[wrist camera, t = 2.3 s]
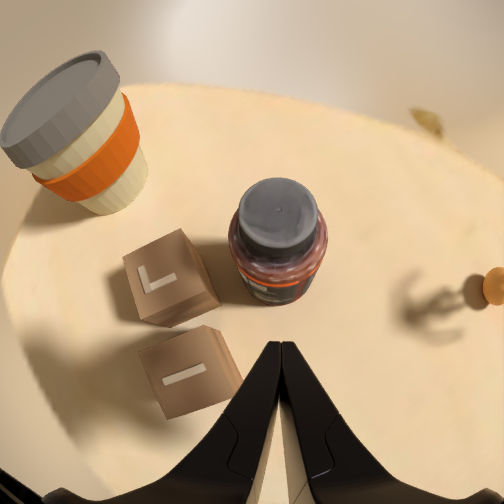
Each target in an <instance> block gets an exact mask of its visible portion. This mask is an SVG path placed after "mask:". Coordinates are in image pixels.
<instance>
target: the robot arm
mask: <svg viewBox="0 0 504 504" xmlns="http://www.w3.org/2000/svg"><path fill="white" fill-rule="evenodd" d="M278 402H279V407H280V417H281V426H282V435H283V445H284V455H285V464H286V474H287V484H288V495H289V504H504V498H502V496H500V495H499V494H498V493H497V492H494V491H492V490H490V489H488V488H485V489H482V490H481V491H479V492H477V493H475V494H473V495H471V496H470V497H467V498H465V499H459V500H454V499H448V498H444V497H441V496H438V495H435V494H432V493H429V492H427V491H424V490H421V489H419V488H416V487H413V486H411V485H408V484H406V483H404V482H401V481H400V480H398V479H396V478H395V477H393V476H392V475H391V474H390V473H389V472H388V471H387V470H386V469H385V468H384V467H383V466H382V465H381V464H380V463H379V462H378V461H377V459H376V458H375V457H374V456H373V455H372V454H371V453H370V452H369V451H368V450H367V448H366V447H365V446H364V445H363V444H362V443H361V442H360V440H359V439H358V438H357V437H356V436H355V434H354V433H353V432H352V430H351V429H350V427H349V426H348V425H347V423H346V422H345V420H344V419H343V417H342V416H341V414H339V411H338V410H337V408H336V407H335V405H334V404H333V402H332V400H331V399H330V397H329V396H328V394H327V393H326V391H325V390H324V388H323V387H322V385H321V383H320V382H319V380H318V379H317V377H316V376H315V374H314V373H313V371H312V369H311V368H310V366H309V365H308V363H307V362H306V360H305V358H304V357H303V355H302V354H301V352H300V351H299V349H298V347H297V346H296V344H295V343H294V342H292V341H283V342H282V343H281V342H279V341H269V342H268V343H267V345H266V346H265V348H264V349H263V351H262V353H261V354H260V356H259V358H258V359H257V361H256V362H255V364H254V366H253V367H252V369H251V370H250V372H249V373H248V375H247V377H246V378H245V380H244V381H243V383H242V384H241V386H240V387H239V389H238V390H237V392H236V393H235V395H234V396H233V398H232V399H231V401H230V402H229V404H228V405H227V407H226V408H225V410H224V411H223V413H222V414H221V416H220V417H219V418H218V420H217V421H216V423H215V424H214V425H213V427H212V428H211V429H210V431H209V432H208V433H207V434H206V435H205V437H204V438H203V439H202V440H201V441H200V442H199V443H198V444H197V445H196V446H195V447H194V448H193V449H192V450H191V451H190V452H189V453H188V454H187V455H186V456H185V457H184V458H183V459H182V460H181V461H180V462H179V463H178V464H177V465H176V466H175V467H174V468H173V469H172V470H171V471H170V472H169V473H167V474H166V475H165V476H163V477H162V478H160V479H159V480H157V481H155V482H153V483H151V484H148V485H146V486H143V487H141V488H138V489H135V490H133V491H130V492H127V493H125V494H122V495H119V496H116V497H113V498H110V499H106V500H102V501H92V500H87V499H84V498H82V497H80V496H78V495H76V494H74V493H72V492H70V491H69V490H67V489H65V488H59V489H57V490H54V491H52V492H50V493H48V494H47V495H45V496H44V497H41V496H40V495H38V494H37V493H35V492H34V491H32V490H31V489H29V488H28V487H26V486H25V485H23V484H22V483H21V482H19V481H18V480H17V479H15V478H14V477H12V476H11V475H9V474H8V473H6V472H5V471H4V470H2V469H1V468H0V504H258V500H259V496H260V492H261V487H262V483H263V479H264V474H265V470H266V465H267V460H268V456H269V451H270V446H271V441H272V436H273V431H274V425H275V420H276V415H277V409H278Z"/></svg>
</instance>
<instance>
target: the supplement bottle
mask: <svg viewBox="0 0 504 504" xmlns="http://www.w3.org/2000/svg"><path fill="white" fill-rule="evenodd" d="M228 239H229V246H230V250H231V253H232V256H233V258H234V261H235V263H236V265H237V268H238V270H239V272H240V274H241V276H242V279H243V281H244V283H245V285H246V287H247V289H248V290H249V291H250V293H251V294H252V295H253V296H254V297H255V298H256V299H258V300H259V301H261V302H263V303H266V304H269V305H274V306H275V305H276V306H281V305H286V304H290V303H292V302H294V301H296V300H297V299H299V298H300V297H301V296H302V295H303V294H304V293H305V292H306V291H307V289H308V288H309V286H310V284H311V282H312V280H313V278H314V276H315V274H316V272H317V270H318V268H319V266H320V264H321V262H322V259H323V257H324V255H325V252H326V248H327V242H328V232H327V227H326V223H325V220H324V218H323V216H322V214H321V212H320V211H319V209H318V208H317V204H316V201H315V199H314V197H313V195H312V194H311V193H310V191H308V189H307V188H306V187H304V186H303V185H301V184H300V183H298V182H296V181H294V180H290V179H287V178H270V179H265V180H262V181H260V182H258V183H256V184H254V185H253V186H252V187H250V188H249V189H248V190H247V191H246V192H245V194H244V195H243V197H242V198H241V201H240V203H239V208H238V209H237V211H236V212H235V214H234V216H233V218H232V220H231V223H230V227H229V232H228Z"/></svg>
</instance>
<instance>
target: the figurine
mask: <svg viewBox="0 0 504 504" xmlns="http://www.w3.org/2000/svg"><path fill="white" fill-rule="evenodd" d="M483 293H484V296H485V298H486V300H487V301H488V302H489V303H491V304H493V305H502V304H504V268H502V267H496V268H494V269H492V270H490V271H489V272H488V273H487V275H486V277H485V279H484V282H483Z"/></svg>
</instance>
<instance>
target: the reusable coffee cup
mask: <svg viewBox="0 0 504 504" xmlns="http://www.w3.org/2000/svg"><path fill="white" fill-rule="evenodd" d="M119 82H120V76H119V74H118V72H117V71H116V69H115V68H114V66H113V65H112V64H111V62H110V60H109V59H108V57H107V56H106V54H105V53H104V52H102V51H91V52H88V53H84V54H81V55H79V56H77V57H74V58H72V59H70V60H69V61H67V62H65V63H63V64H62V65H60V66H59V67H57V68H55V69H54V70H53V71H51V72H50V73H49V74H47V75H46V76H45V77H44V78H42V79H41V80H40V81H39V82H38V83H37V84H35V85H34V86H33V87H32V88H31V89H30V90H29V91H28V92H27V93H26V94H25V95H24V97H23V98H22V99H21V100H20V101H19V102H18V104H17V105H16V106H15V107H14V109H13V111H12V112H11V113H10V115H9V116H8V118H7V120H6V122H5V123H4V125H3V128H2V130H1V133H0V146H1V148H2V149H3V150H4V152H5V153H6V154H7V155H8V157H9V158H10V159H11V161H12V162H13V163H14V164H15V166H16V167H19V168H20V169H27V170H28V171H30V172H31V173H32V175H33V177H34V179H35V180H36V181H37V182H39V183H40V184H42V185H43V186H45V187H46V188H48V189H49V190H51V191H53V192H54V193H56V194H57V195H59V196H61V197H62V198H64V199H66V200H68V201H73V202H75V201H76V202H77V203H79V204H81V205H82V206H84V207H85V208H87V209H89V210H90V211H92V212H94V213H96V214H99V215H109V214H113V213H116V212H118V211H120V210H122V209H123V208H125V207H126V206H128V205H129V204H130V203H131V202H132V201H133V200H134V199H135V198H136V197H137V196H138V195H139V193H140V192H141V190H142V189H143V187H144V185H145V183H146V180H147V176H148V166H147V163H146V160H145V157H144V155H143V152H142V150H141V147H140V144H139V140H140V135H139V130H138V127H137V124H136V122H135V119H134V116H133V113H132V110H131V107H130V104H129V101H128V99H127V96H126V95H124V94H123V93H121V90H120V87H119Z"/></svg>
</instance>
